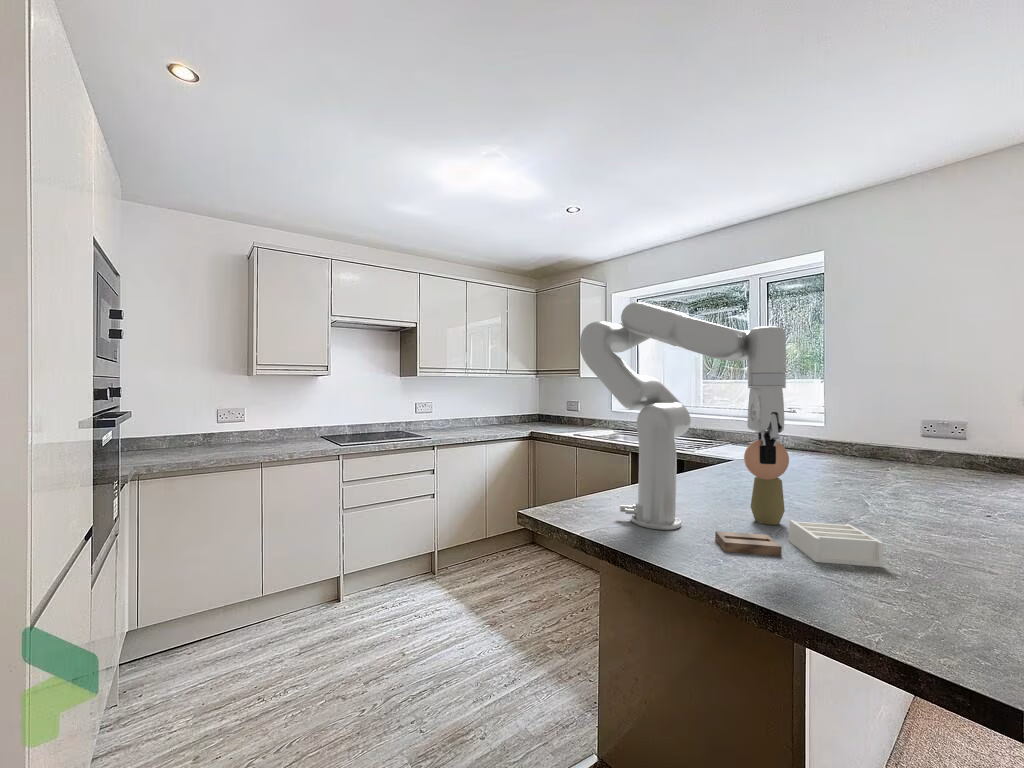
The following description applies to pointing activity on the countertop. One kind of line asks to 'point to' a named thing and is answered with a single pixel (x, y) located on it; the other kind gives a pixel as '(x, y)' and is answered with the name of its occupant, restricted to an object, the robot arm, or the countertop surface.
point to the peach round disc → (765, 469)
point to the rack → (836, 544)
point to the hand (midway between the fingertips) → (766, 462)
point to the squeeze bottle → (767, 501)
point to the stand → (747, 543)
